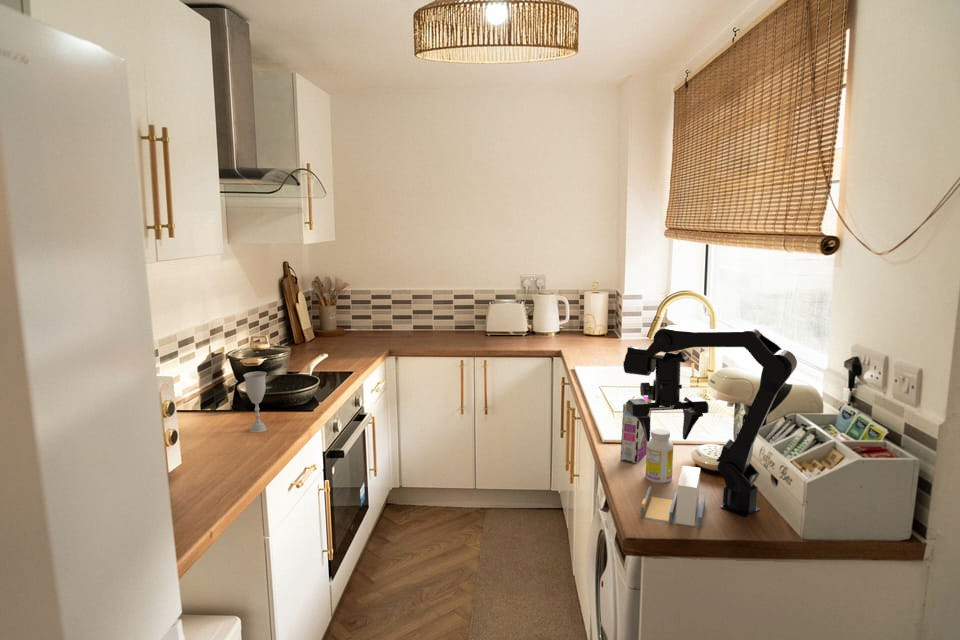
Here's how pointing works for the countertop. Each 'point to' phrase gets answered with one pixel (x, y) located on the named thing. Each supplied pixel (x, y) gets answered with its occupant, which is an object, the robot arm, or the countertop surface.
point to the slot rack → (666, 509)
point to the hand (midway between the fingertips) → (666, 440)
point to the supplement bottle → (659, 456)
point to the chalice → (256, 395)
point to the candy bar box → (633, 435)
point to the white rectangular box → (688, 495)
